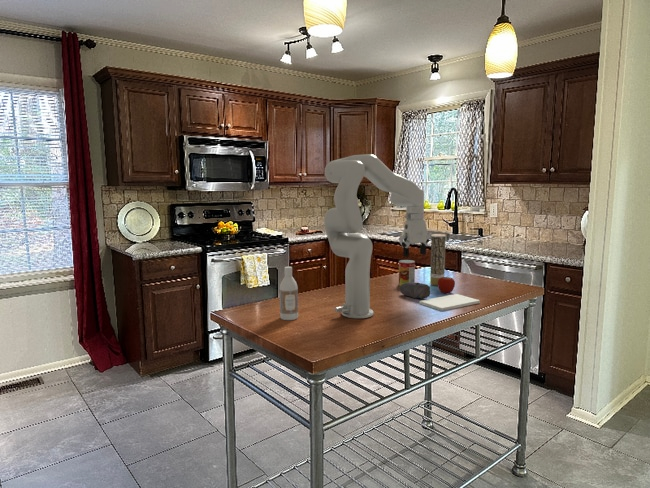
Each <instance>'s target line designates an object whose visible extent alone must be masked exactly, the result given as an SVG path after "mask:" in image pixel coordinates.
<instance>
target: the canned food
mask: <svg viewBox="0 0 650 488" xmlns="http://www.w3.org/2000/svg"><path fill="white" fill-rule="evenodd" d="M415 275H416V261H415V260H412V259H401V260H398V286H399V287H401V285H402V284H404V283H409V282H414V283H416V282H415V281H416V280H415V277H416V276H415Z"/></svg>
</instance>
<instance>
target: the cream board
mask: <svg viewBox="0 0 650 488" xmlns="http://www.w3.org/2000/svg"><path fill="white" fill-rule="evenodd" d="M480 303H481V301H480V299H478V298H477V299H476V298H472V297H470V296H466V295H462V294H459V293H455V294H449V295H443V296H439V297H434V298H426V299H421V300H419V305H423V306H426V307H429V308H430V309H431V308H432V309H434V310H437V311H441V312H443V311H448V310H453V309H457V308H462V307H467V306H472V305H477V304H480Z"/></svg>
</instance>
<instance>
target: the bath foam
mask: <svg viewBox="0 0 650 488" xmlns="http://www.w3.org/2000/svg"><path fill="white" fill-rule="evenodd" d="M283 271H284V272H283V273H284V277H283V278H282V280H281V282H280V284H279V315H280V316H279V317H280V319H281V320H283V321H294V320H297V319H298V318H299V295H298V294H299V291H298V289H299V288H298V284H297V281H296V280H295V278H294V277H293V266H284V269H283Z"/></svg>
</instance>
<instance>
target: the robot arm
mask: <svg viewBox="0 0 650 488" xmlns="http://www.w3.org/2000/svg"><path fill="white" fill-rule="evenodd" d="M324 177H325V179H326V181H328V182H329V183H332V184H337V187H336V189H335V192H334V195H333V198H334V199H333V201H334V205H335V207H332V208H329V209H328V210H327V211H326V213H325V216H324V219H323V223H324V224H323V225H324V229H325V233H326V236H327V239H328V242H329V246H330V249H331V251H332V253H333V254H335V255H336V256H338V257H340V258H341V257H342V258H348V262H347V264H346V267H345V271H344V273H345V274H344V276H345V278H344V279H345V280H344V281H345V282H344V283H345V286H344V287H345V291H344V292H345V296H344V297H345V302H343V303H342V305H341V306H336V307H334V311H335V313H339V312H341V315H342V316H343V317H345V318H349V319H367V318H371V317H372V316H374V310H373V309H371V308H370V307H371V306H370V304H371V303H370V301H371V300H370V299H371V298H370V297H371V294H370V290H371V286H370V285H371V270H370V269H371V259H372V255H373V254H372V253H373V248H374V247H373V242H372V240H371V239H370V238H369V237H368V236H366V235H363V234H357V233H359V232H361V231H362V229H363V222H364V221H363V218H362V213H361V209H360V205H359V202H358V196H357V193H358V189H359V186H360V183H361V182H362V181H363V179H364V178H365V179H367V180H369V182H371V183H372V184H373V185H374V186H375V187H376V188H378V189H379V190H380V191H383V192H387V193H390V197H389V199H390V202H391V203H392V204H393V205H394V206H397V207H403V208H404V207H406V208H405V209H406V210H405V211H406V214H405V215H404V218H405V222H404V225H403V234H402V235H401V236H400V237H399V238H398V242H399V245H400V246H401V247H402V252H403V253H402V254H403V257H405V258H410V248H409V246H410V245H411V244H412V245H413V244H420V245H419V248H420V249H419V254H420V255H425V256H426V255H427V246H428V244H429V242H430V239H431V234H429V233H428V230H427V228H428V227H427V222H426V220H425V191H424V189H423V188H420V187H419V186H418V185H417V184H416V183H415V182H413V181H412V180H410V179H408V178H406V177H404V176H401V175H400V174H397V173H395V172H393V171H392V170H391V169H390V168H389V167H388V166H387V165H385V163H383V161H382V160H381V159H379V158H378V157H377V156H376V155H374V154H372V153H369V154H367V153H366V154H365V153H364V154H354V155H353V154H352V155H349V156H346V157H342V158H338V159H334V160H331V161H329V162H328V163H327V164H326V165H325V168H324Z"/></svg>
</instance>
